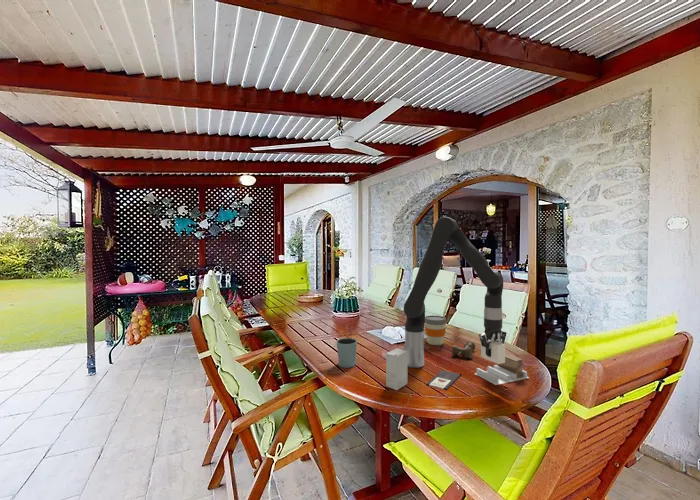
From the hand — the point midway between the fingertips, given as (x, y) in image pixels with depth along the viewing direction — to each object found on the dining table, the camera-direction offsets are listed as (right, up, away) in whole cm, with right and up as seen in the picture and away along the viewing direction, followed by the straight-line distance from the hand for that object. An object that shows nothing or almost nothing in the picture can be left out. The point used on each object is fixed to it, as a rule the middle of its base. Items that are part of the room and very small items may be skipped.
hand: (492, 355), depth 154 cm
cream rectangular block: (0, -2, 0) cm, 2 cm away
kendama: (-2, -10, +32) cm, 34 cm away
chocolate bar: (-21, -12, +1) cm, 24 cm away
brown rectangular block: (+9, -10, +4) cm, 14 cm away
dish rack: (+5, -11, +2) cm, 12 cm away
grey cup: (-65, -11, +20) cm, 69 cm away
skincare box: (-43, -12, -5) cm, 45 cm away
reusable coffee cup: (-12, -9, +53) cm, 56 cm away
